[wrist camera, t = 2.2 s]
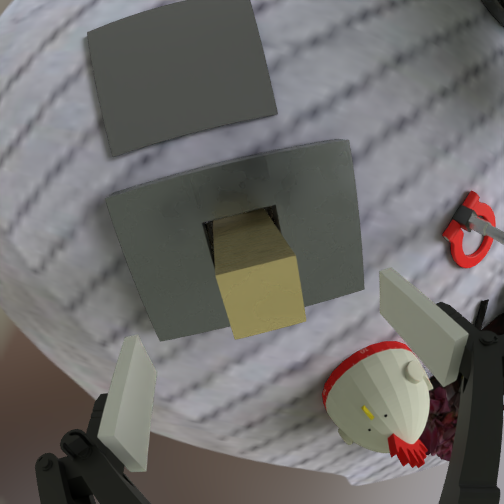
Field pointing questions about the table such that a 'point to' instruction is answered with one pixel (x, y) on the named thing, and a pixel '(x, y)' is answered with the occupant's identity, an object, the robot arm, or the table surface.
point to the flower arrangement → (450, 402)
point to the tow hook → (468, 221)
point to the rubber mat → (179, 71)
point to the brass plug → (256, 274)
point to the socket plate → (230, 203)
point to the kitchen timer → (381, 401)
